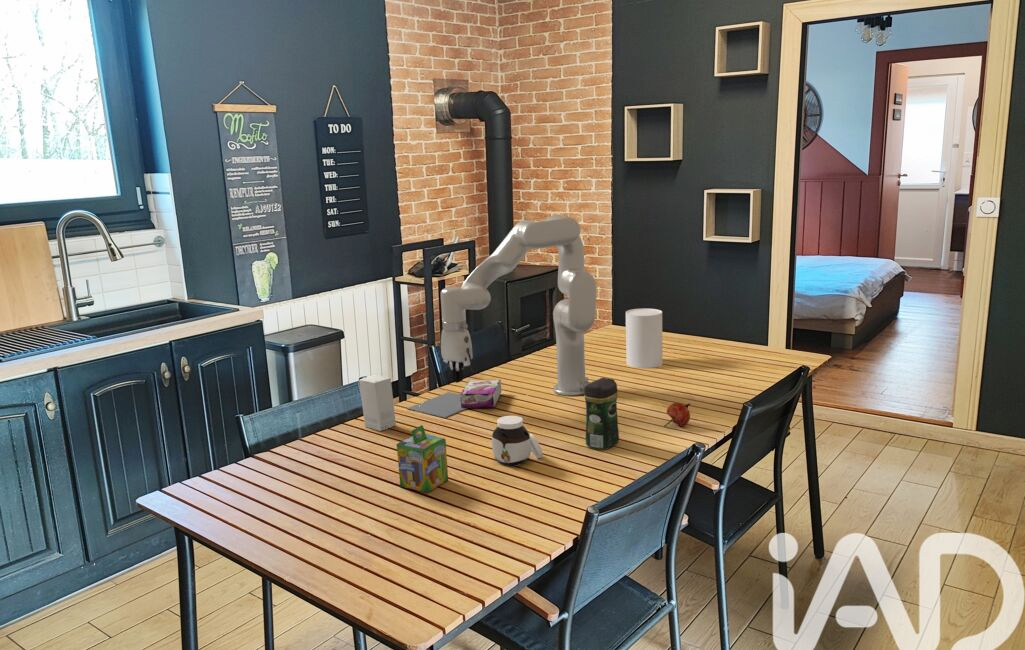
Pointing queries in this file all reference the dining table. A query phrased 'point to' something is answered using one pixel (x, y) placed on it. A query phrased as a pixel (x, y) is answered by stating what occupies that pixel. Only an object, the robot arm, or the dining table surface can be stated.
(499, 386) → the candy bar box
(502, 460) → the spread jar
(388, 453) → the dining table surface
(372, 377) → the skincare box
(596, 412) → the coffee jar
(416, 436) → the chalk box
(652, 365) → the canister
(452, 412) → the slate mat
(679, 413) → the pomegranate
